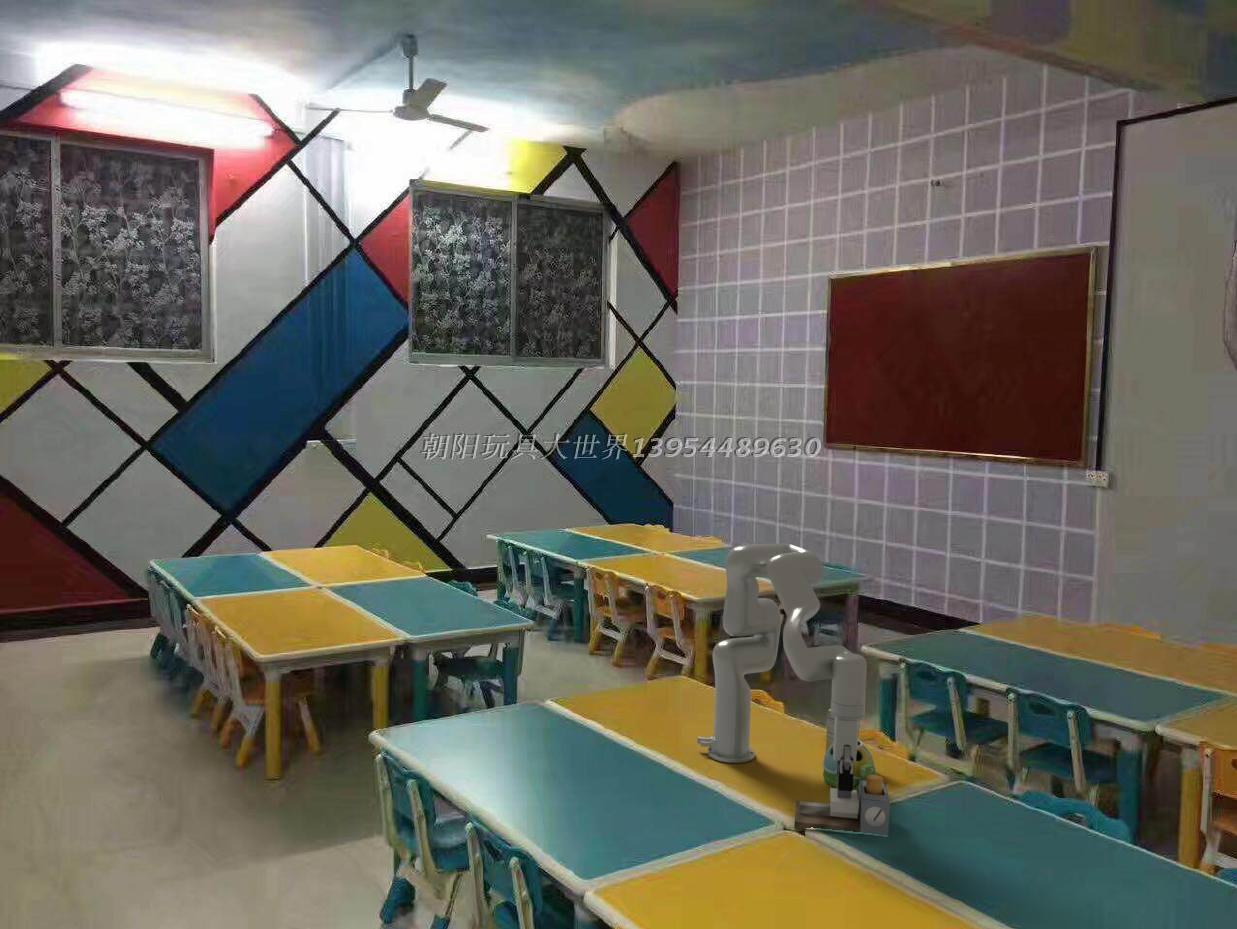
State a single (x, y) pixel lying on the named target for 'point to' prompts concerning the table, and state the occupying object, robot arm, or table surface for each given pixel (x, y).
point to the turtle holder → (860, 767)
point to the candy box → (831, 730)
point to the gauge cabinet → (873, 810)
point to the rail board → (822, 818)
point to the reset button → (874, 784)
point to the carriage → (843, 802)
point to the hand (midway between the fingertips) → (844, 782)
